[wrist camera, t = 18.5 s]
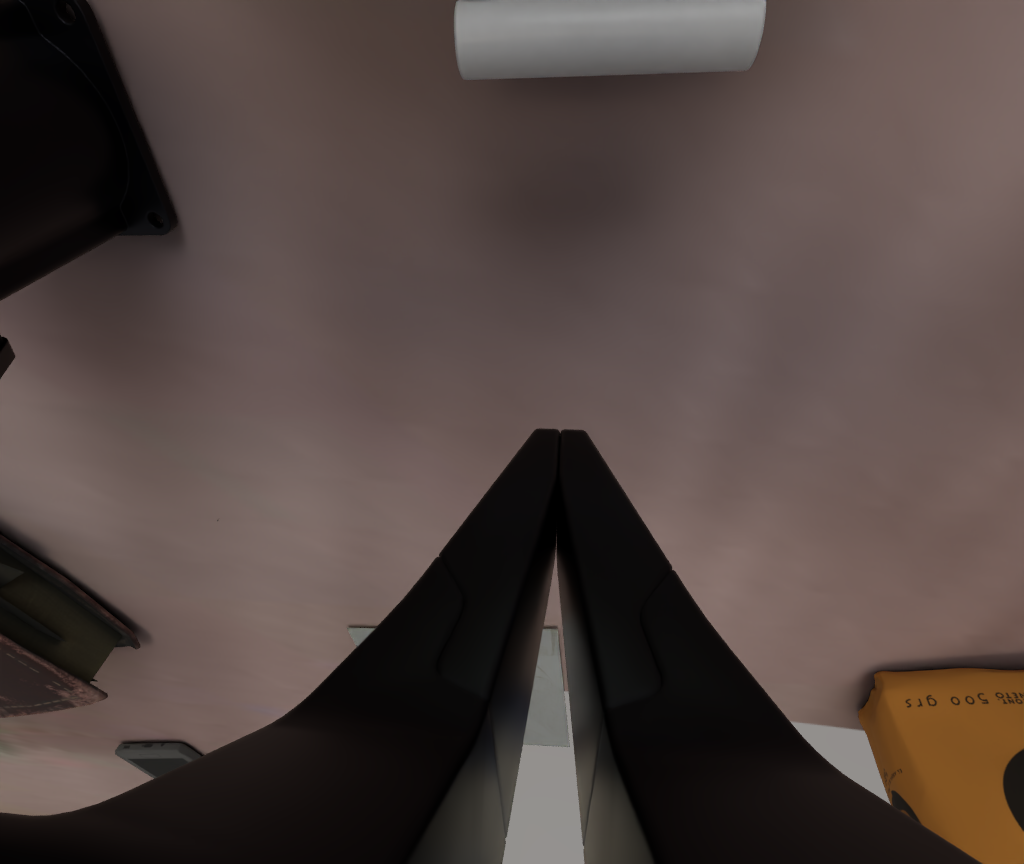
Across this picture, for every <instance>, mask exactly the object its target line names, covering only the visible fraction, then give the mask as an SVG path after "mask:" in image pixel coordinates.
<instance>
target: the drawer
mask: <svg viewBox="0 0 1024 864" xmlns="http://www.w3.org/2000/svg"><path fill="white" fill-rule="evenodd" d="M765 15H766V0H458V1H457V2H456V5H455V11H454V41H455V51H456V59H457V64H458V69H459V72H460V75H461V77H462V79H464V80H484V79H514V78H544V77H575V76H605V75H635V74H666V73H696V72H727V71H746V70H748V69H749V68H750V67H751V66H752V64H753V62H754V60H755V58H756V55H757V53H758V50H759V46H760V43H761V39H762V34H763V29H764V23H765Z"/></svg>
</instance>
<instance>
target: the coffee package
mask: <svg viewBox="0 0 1024 864" xmlns="http://www.w3.org/2000/svg"><path fill="white" fill-rule="evenodd" d="M874 679H875V688H873V689H872V690H871V693H870V696H869V700H868V702H867V703H866V705H865V706H864V707H863V708H862V709H861V710H859V711H858V713H859V716H858V717H859V720H860V723H861V725H862V727H863V729H864V731H865V733H866V734H867V737H868V740H869V743H870V746H871V749H872V752H873V755H874V758H875V761H876V764H877V767H878V770H879V773H880V776H881V778H882V781H883V784H884V787H885V790H886V793H887V796H888V798H889V801H890V803H891V805H892V806H893V807H895V808H897V809H898V810H900V811H901V812H903V813H904V814H906V815H907V816H909V817H911V818H912V819H914V820H915V821H917V822H918V823H920V824H922V825H923V826H925V827H926V828H928V829H929V830H931V831H932V832H934V833H936V834H937V835H939V836H940V837H942V838H943V839H945V840H947V841H948V842H950V843H951V844H953V845H954V846H956V847H958V848H959V849H961V850H962V851H964V852H965V853H967V854H968V855H970V856H972V857H973V858H975V859H976V860H978V861H979V862H981V863H983V864H1024V670H996V669H980V668H953V669H939V670H925V671H908V672H890V671H879V672H877V673H876V674H875V675H874Z"/></svg>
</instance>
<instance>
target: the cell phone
mask: <svg viewBox="0 0 1024 864" xmlns="http://www.w3.org/2000/svg"><path fill="white" fill-rule="evenodd" d="M115 754H116V755H117V756H119V757H120V758H122V759H124V760H125V761H127V762H128V763H130V764H132V765H133V766H135V767H136V768H138V769H140V770H141V771H143V772H144V773H146V774H148V775H149V776H151V777H152V778H154V779H155V778H157V777H159V776H161V775H163V774H165V773H168V772H170V771H172V770H174V769H176V768H178V767H180V766H182V765H185V764H187V763H189V762H191V761H193V760H195V759H197V758H200V757H202V756H201V755H199V754H198V753H197V752H195V751H194V750H192V749H191V748H190V747H188V746H187V745H185V744H182V743H131V744H120V745H119V746H118V747H117V749H116V750H115Z"/></svg>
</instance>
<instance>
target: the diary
mask: <svg viewBox="0 0 1024 864" xmlns="http://www.w3.org/2000/svg"><path fill="white" fill-rule="evenodd" d="M125 646H131V647H133V648H135V649H139V648H140V644H139V642H138V640H137V638H136V637H135V635H134V633H133V632H132V631H131V630H130V629H128V628H127V627H126V626H125V625H123V624H122V623H121V622H120V621H119V620H117V619H116V618H115V617H114V616H112V615H111V614H110V613H109V612H108V611H106V610H105V609H104V608H103V607H101V606H100V605H99V604H98V603H96V602H95V601H94V600H93V599H92V598H90V597H89V596H88V595H87V594H85V593H84V592H83V591H82V590H81V589H79V588H78V587H77V586H76V585H74V584H73V583H72V582H71V581H70V580H68V579H67V578H65V577H64V576H62V575H61V574H59V573H58V572H56V571H54V570H53V569H51V568H50V567H48V566H47V565H45V564H44V563H42V562H41V561H39V560H38V559H36V558H35V557H33V556H32V555H30V554H29V553H27V552H26V551H24V550H23V549H21V548H20V547H18V546H17V545H15V544H14V543H12V542H11V541H9V540H8V539H6V538H5V537H3V536H2V535H0V718H5V717H14V716H22V715H31V714H40V713H47V712H53V711H58V710H63V709H69V708H74V707H79V706H85V705H90V704H93V703H96V702H99V701H101V700H104V699H106V698H107V697H108V694H107V693H105V692H104V691H102V690H100V689H99V688H97V687H96V686H94V685H92V684H90V681H97V680H95V679H93V677H94V676H95V674H96V673H97V671H98V670H99V669H100V667H101V666H102V664H103V663H104V661H105V660H106V658H107V657H108V656H109V654H110V653H111V651H112V650H113V648H114V647H125Z"/></svg>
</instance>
